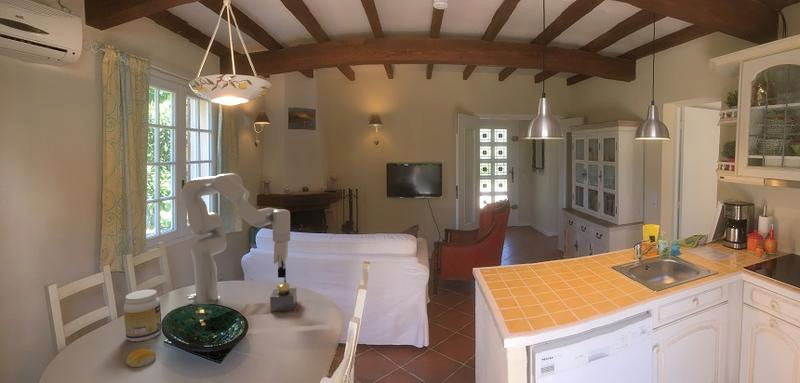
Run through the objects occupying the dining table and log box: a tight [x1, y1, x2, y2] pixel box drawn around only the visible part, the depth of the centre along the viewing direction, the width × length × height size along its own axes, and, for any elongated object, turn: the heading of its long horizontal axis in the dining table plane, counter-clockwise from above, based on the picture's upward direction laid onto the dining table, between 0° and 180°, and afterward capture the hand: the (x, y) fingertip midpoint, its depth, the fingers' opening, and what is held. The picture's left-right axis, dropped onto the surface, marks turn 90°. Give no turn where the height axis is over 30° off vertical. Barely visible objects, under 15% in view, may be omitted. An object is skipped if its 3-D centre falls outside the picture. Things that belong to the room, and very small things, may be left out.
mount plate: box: [240, 300, 302, 316], centre depth 179 cm, size 25×13×2 cm, turn 97°
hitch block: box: [269, 287, 298, 312], centre depth 179 cm, size 10×10×7 cm
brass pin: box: [276, 282, 290, 295], centre depth 179 cm, size 5×5×10 cm
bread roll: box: [125, 347, 157, 368], centre depth 137 cm, size 8×9×4 cm
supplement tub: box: [122, 289, 163, 342], centre depth 155 cm, size 12×12×17 cm
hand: (281, 276), depth 178 cm, fingers closed
